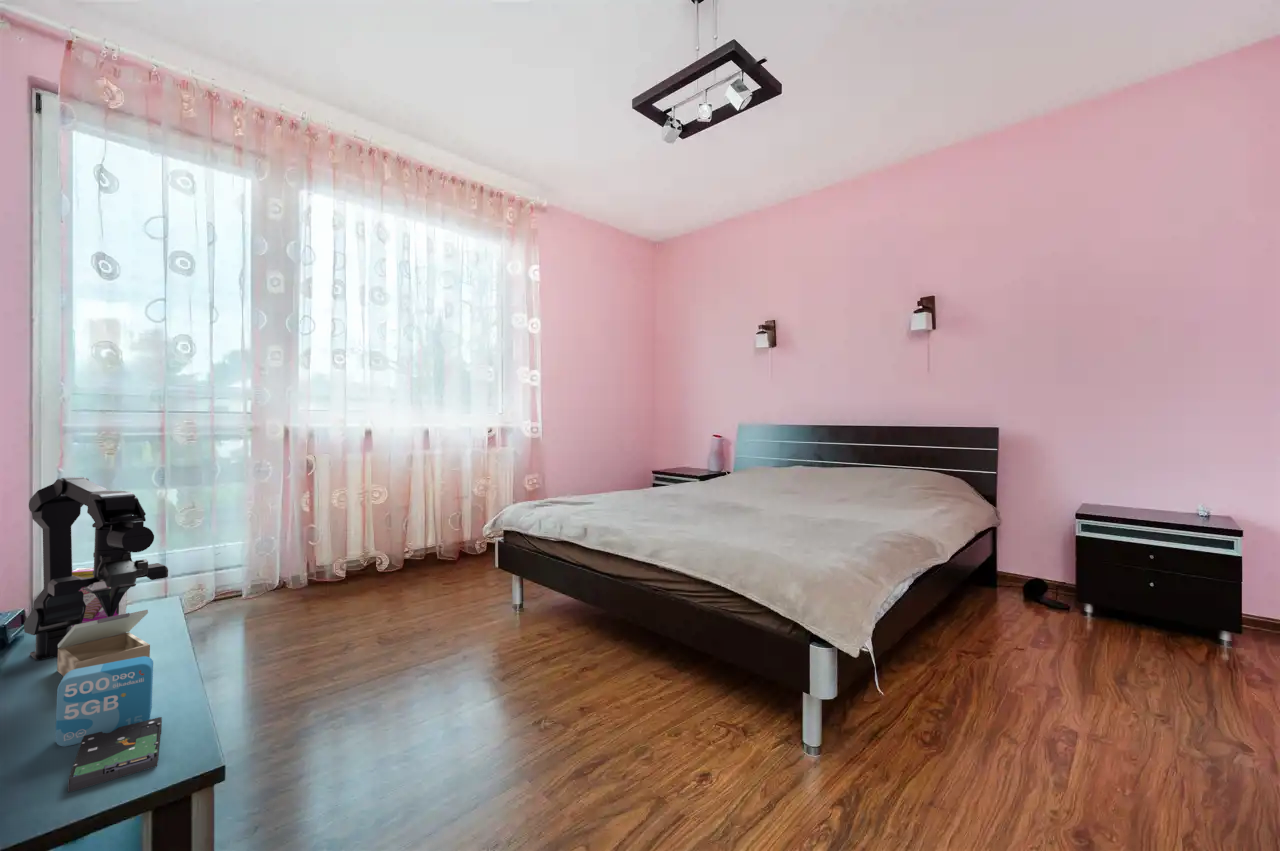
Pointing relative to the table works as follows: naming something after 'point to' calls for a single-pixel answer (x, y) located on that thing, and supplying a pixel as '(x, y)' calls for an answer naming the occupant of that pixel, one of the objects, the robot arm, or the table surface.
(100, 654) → the box
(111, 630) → the lid
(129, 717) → the data package
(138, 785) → the table surface
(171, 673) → the table surface
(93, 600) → the candy bar box
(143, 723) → the disk drive
